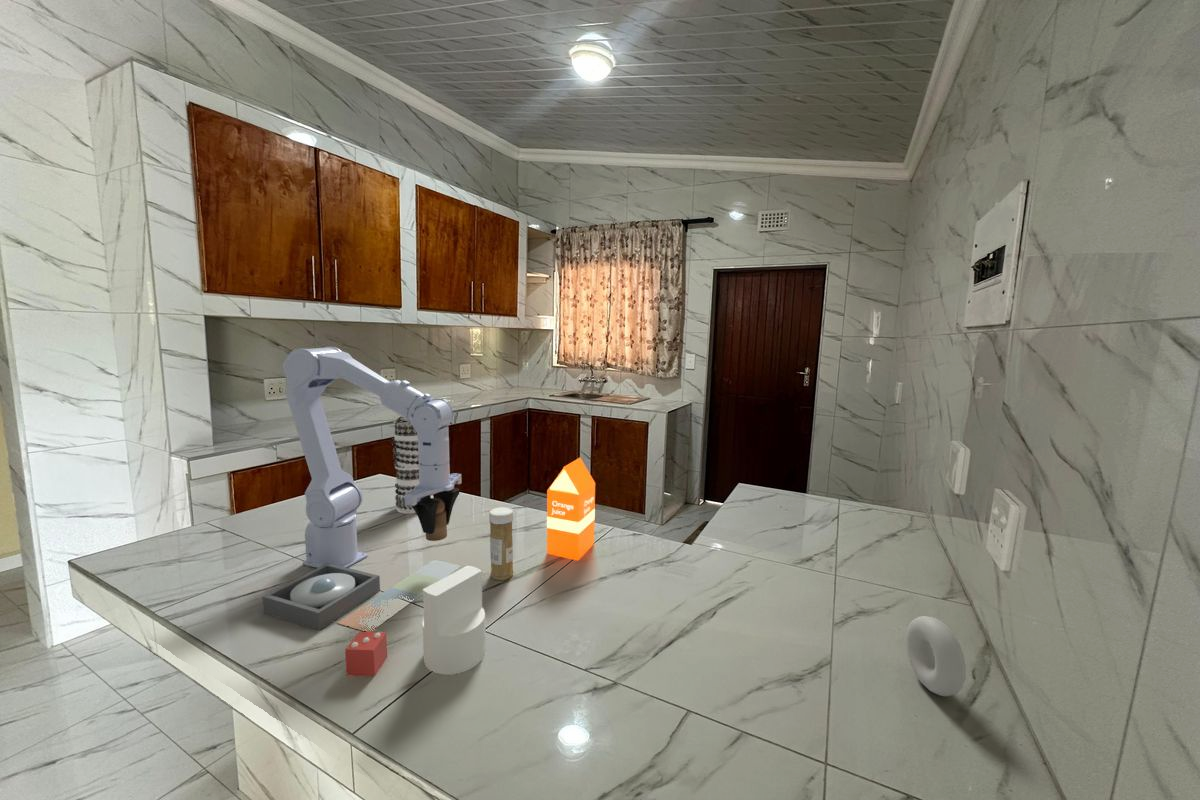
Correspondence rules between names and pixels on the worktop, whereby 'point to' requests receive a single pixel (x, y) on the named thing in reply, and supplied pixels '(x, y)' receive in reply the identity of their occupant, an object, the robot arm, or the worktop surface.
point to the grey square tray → (319, 618)
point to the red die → (366, 654)
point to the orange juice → (571, 512)
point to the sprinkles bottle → (501, 543)
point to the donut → (935, 656)
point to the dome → (322, 589)
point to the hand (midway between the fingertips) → (436, 528)
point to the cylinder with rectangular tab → (454, 622)
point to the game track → (403, 591)
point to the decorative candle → (405, 462)
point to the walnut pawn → (439, 523)
